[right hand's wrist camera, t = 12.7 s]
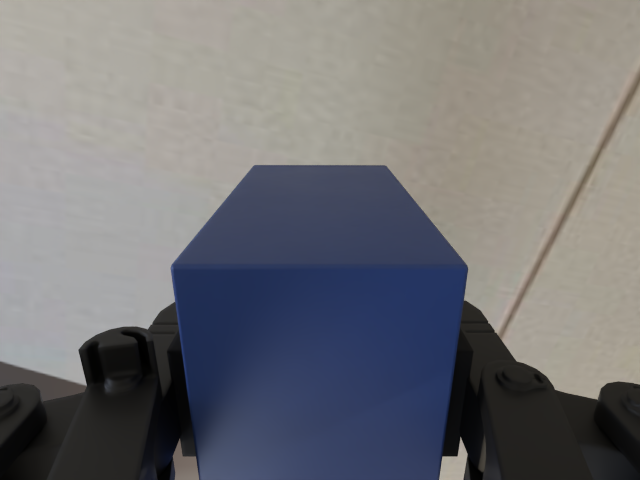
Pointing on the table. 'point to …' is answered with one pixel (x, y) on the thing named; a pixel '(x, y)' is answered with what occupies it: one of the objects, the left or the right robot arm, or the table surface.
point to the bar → (319, 328)
